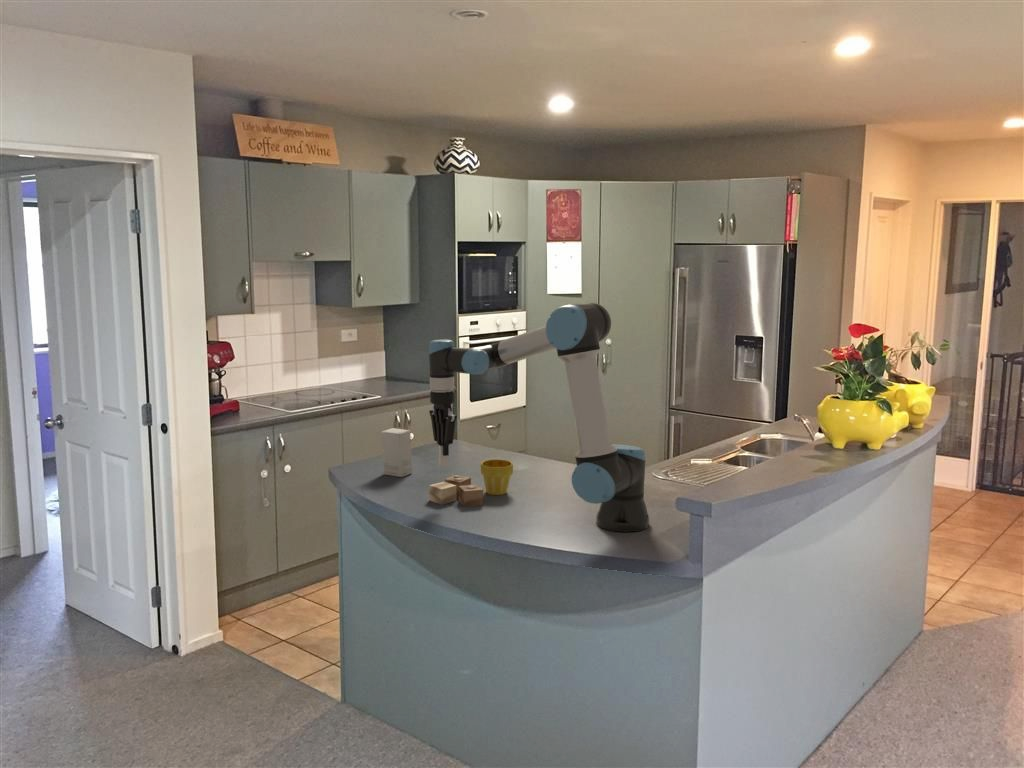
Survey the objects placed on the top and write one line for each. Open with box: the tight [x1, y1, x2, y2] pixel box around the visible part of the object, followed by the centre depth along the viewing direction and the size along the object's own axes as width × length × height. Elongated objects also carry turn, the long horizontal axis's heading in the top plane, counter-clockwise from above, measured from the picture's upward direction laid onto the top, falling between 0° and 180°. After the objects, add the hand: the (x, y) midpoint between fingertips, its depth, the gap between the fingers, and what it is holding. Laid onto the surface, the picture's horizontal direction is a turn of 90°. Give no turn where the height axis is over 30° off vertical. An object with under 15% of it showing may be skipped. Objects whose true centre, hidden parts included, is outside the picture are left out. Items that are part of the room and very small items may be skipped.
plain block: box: [428, 481, 457, 505], centre depth 269 cm, size 6×6×5 cm
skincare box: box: [380, 427, 413, 478], centre depth 297 cm, size 8×7×16 cm
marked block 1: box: [444, 474, 472, 498], centre depth 277 cm, size 6×6×5 cm
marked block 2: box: [458, 483, 484, 508], centre depth 266 cm, size 6×6×5 cm
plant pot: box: [480, 458, 514, 496], centre depth 277 cm, size 10×10×10 cm
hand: (443, 465), depth 267 cm, fingers closed
